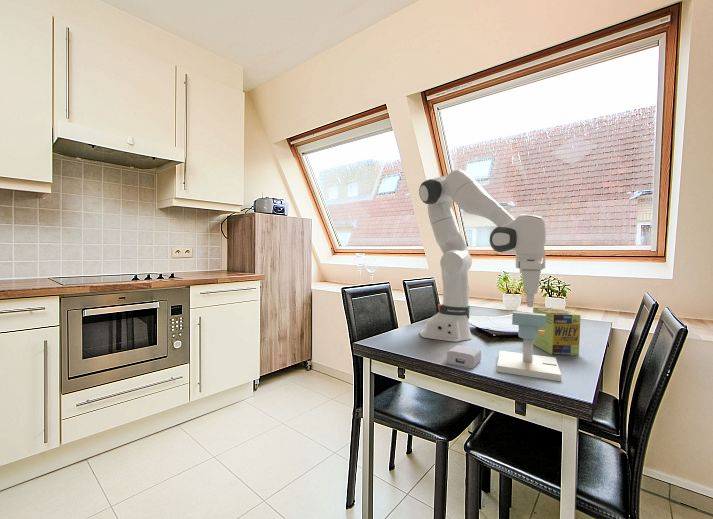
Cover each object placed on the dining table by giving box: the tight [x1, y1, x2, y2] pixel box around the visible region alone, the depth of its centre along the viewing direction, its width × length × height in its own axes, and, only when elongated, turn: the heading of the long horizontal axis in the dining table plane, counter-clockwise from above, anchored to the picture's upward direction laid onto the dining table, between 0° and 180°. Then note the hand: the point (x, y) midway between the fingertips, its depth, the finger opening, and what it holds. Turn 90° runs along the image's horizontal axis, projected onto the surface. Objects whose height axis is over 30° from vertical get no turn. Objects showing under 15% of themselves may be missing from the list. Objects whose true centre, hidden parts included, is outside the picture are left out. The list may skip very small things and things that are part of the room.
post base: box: [496, 338, 562, 382], centre depth 116 cm, size 18×18×10 cm
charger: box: [446, 344, 482, 369], centre depth 123 cm, size 5×9×15 cm
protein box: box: [532, 307, 581, 356], centre depth 137 cm, size 10×15×16 cm
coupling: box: [511, 310, 546, 339], centre depth 116 cm, size 10×6×8 cm, turn 65°
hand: (529, 304), depth 115 cm, fingers open, 8 cm apart
